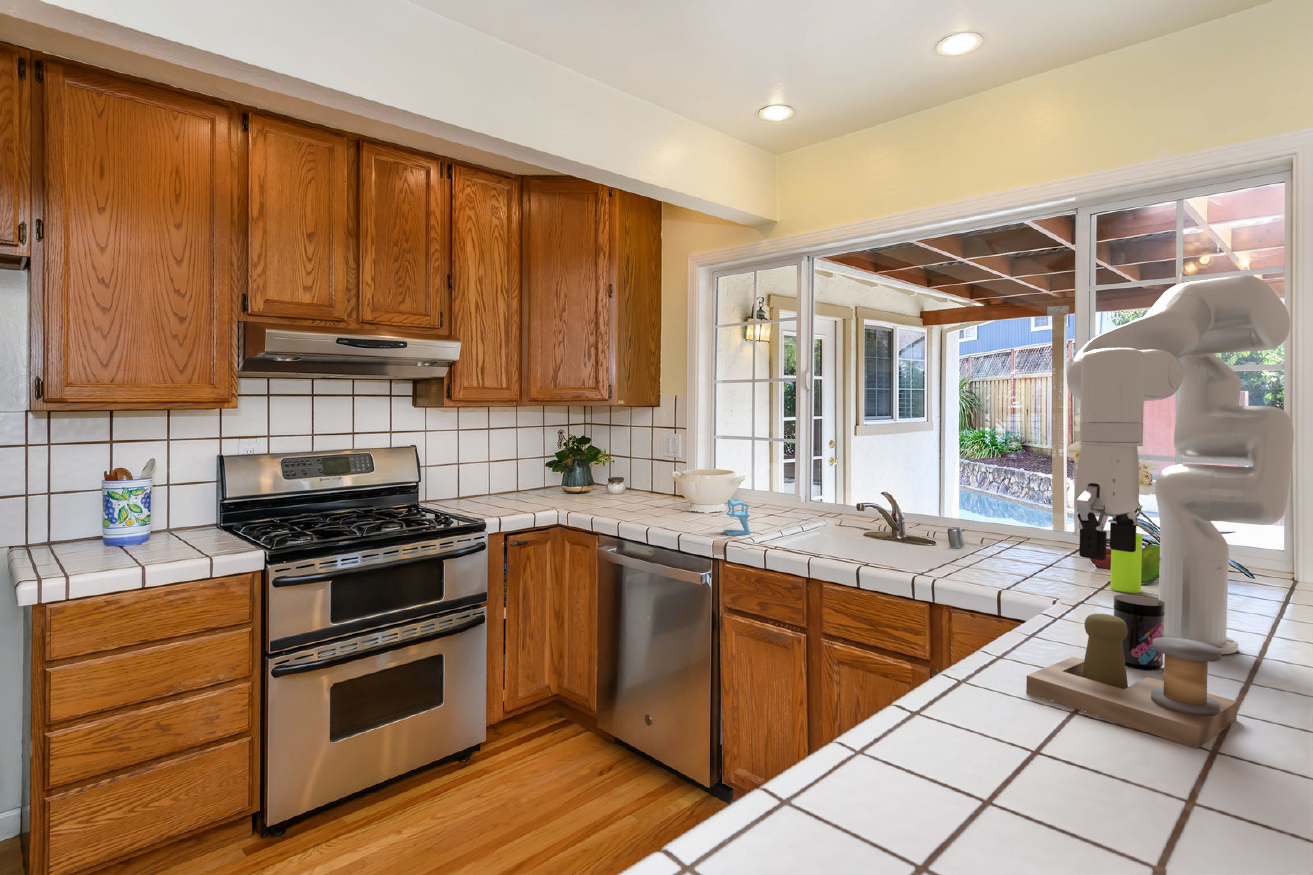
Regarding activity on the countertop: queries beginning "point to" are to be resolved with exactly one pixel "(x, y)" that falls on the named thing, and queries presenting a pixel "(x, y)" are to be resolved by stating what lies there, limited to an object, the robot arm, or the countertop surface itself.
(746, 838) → the countertop surface
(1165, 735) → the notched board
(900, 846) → the countertop surface
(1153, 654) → the supplement container
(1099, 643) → the olive pepper mill
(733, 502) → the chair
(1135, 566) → the soap dispenser
